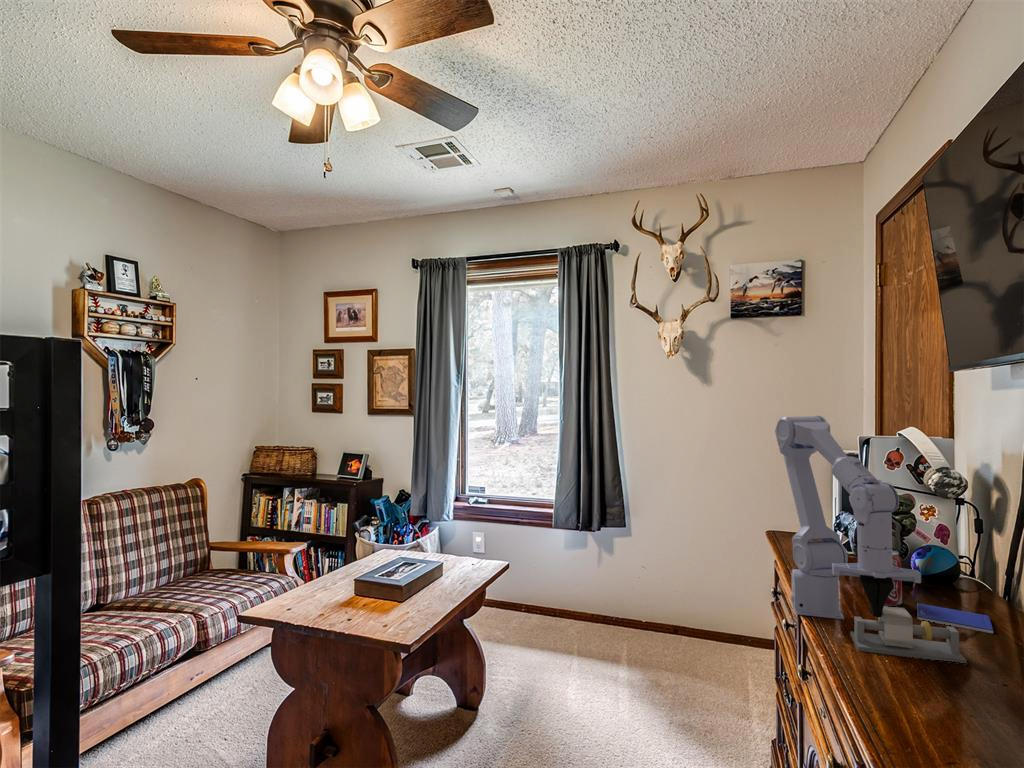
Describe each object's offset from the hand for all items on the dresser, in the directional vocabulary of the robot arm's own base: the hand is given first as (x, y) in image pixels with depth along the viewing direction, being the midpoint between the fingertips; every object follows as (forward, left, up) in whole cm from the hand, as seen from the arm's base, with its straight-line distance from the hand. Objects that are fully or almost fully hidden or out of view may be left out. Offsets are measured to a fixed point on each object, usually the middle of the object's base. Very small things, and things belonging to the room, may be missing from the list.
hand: (875, 615), depth 109 cm
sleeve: (+3, 0, -5) cm, 6 cm away
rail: (+5, 0, -6) cm, 8 cm away
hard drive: (+18, +19, -7) cm, 27 cm away
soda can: (+8, +25, -6) cm, 27 cm away
